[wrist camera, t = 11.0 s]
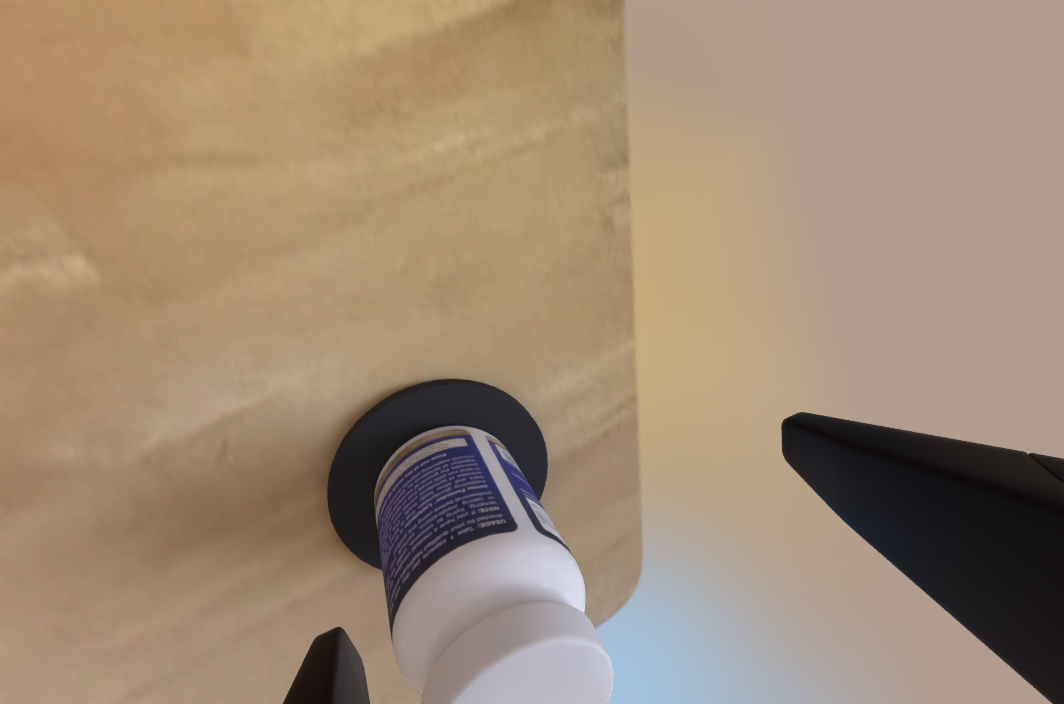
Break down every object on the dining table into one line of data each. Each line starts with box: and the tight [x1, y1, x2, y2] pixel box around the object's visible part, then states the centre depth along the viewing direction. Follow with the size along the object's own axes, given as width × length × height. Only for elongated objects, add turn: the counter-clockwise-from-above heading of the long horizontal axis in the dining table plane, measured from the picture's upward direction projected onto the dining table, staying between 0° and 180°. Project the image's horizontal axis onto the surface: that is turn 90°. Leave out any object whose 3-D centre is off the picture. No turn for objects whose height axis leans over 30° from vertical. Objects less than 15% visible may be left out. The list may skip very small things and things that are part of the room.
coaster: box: [328, 379, 548, 570], centre depth 21 cm, size 9×9×1 cm
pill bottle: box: [374, 426, 613, 704], centre depth 16 cm, size 6×6×10 cm
